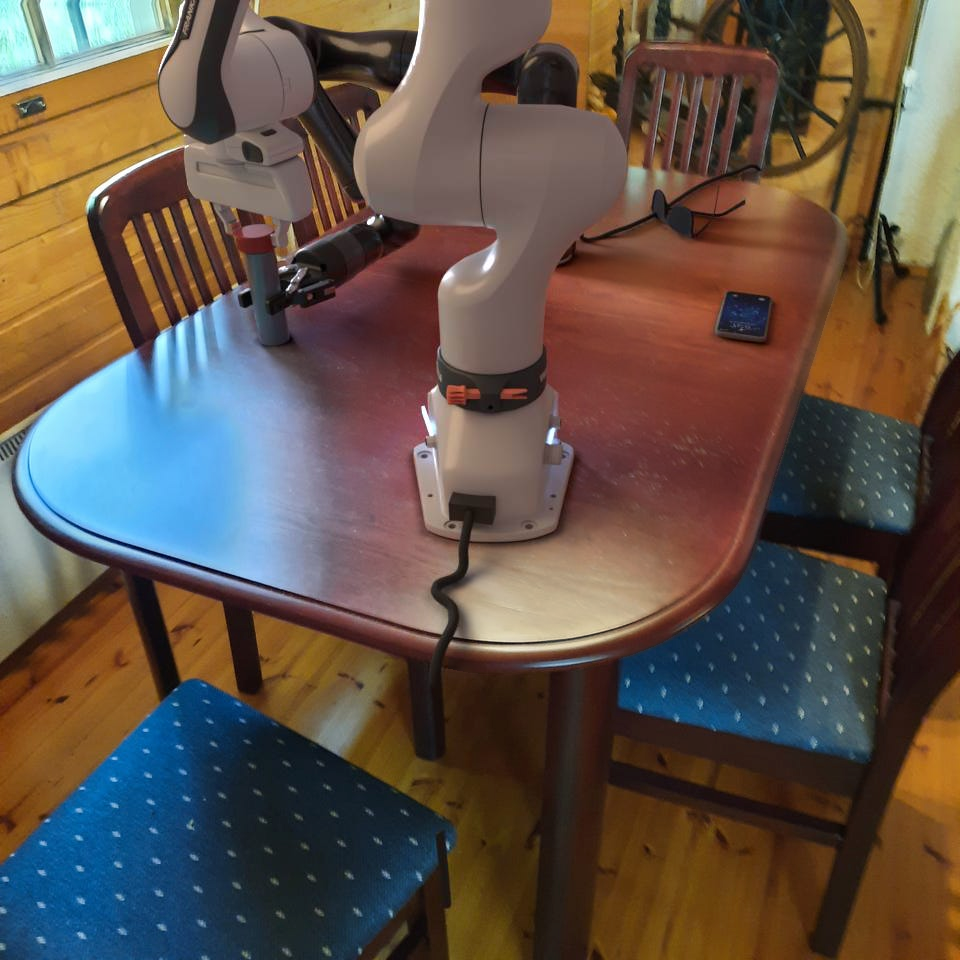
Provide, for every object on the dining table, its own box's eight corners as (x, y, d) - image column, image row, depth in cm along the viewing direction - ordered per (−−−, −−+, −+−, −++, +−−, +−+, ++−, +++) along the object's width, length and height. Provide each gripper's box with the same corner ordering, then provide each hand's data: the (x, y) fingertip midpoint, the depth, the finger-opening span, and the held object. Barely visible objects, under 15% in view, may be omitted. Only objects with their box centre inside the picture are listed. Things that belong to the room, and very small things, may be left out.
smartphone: (773, 295, 132) (766, 339, 121) (772, 301, 133) (765, 345, 121) (725, 289, 134) (713, 331, 123) (724, 295, 135) (712, 337, 123)
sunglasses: (756, 231, 156) (761, 204, 153) (684, 241, 153) (688, 214, 150) (711, 202, 169) (714, 176, 166) (644, 211, 166) (646, 185, 163)
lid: (266, 255, 115) (264, 239, 114) (230, 252, 116) (227, 236, 115) (284, 241, 119) (281, 225, 118) (249, 238, 121) (246, 222, 119)
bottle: (282, 347, 124) (262, 241, 115) (254, 344, 125) (232, 238, 116) (294, 333, 128) (277, 229, 118) (267, 330, 129) (248, 227, 119)
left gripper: (163, 131, 112) (187, 233, 120) (277, 154, 103) (295, 263, 111) (199, 119, 116) (221, 218, 124) (312, 140, 107) (327, 246, 115)
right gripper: (290, 231, 133) (211, 270, 121) (364, 247, 127) (288, 290, 115) (297, 277, 138) (222, 319, 126) (369, 294, 132) (297, 340, 120)
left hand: (257, 240), depth 118 cm, fingers open, 7 cm apart
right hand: (254, 305), depth 121 cm, fingers closed on bottle, 4 cm apart
